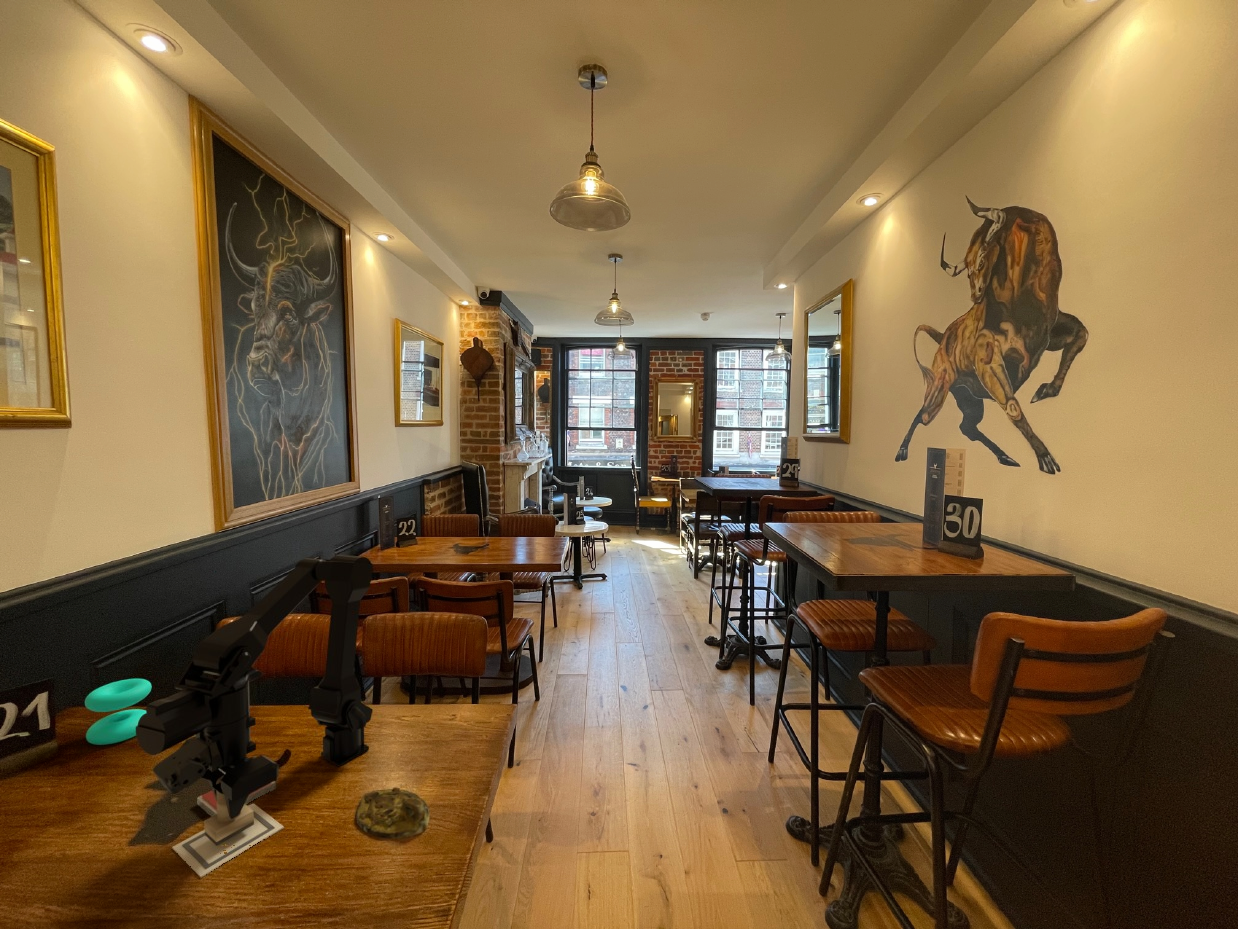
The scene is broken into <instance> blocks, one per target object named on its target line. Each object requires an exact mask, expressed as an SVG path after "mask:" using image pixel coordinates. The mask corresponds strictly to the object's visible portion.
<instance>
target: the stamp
mask: <svg viewBox="0 0 1238 929" xmlns="http://www.w3.org/2000/svg"><path fill="white" fill-rule="evenodd" d="M222 778H223V776H222V777H220V778H219V779H218V780H217V782H216V784H218V783H220V782H221V779H222ZM216 793H217V814H216V815H215V816H213V817H211V816H210V817H209V818H207V819H205V820H204V821H203V822H204V823H203V824H204V830H205V836H206V837H207V838H209V839H210V840H211V841H212V842H213V843H214V844H215V845H216V846H218V845H219V844H221V843H223V842H224V841H226V840H228V839H230V838H231V837H233V836H235V835H237V834H238V833H240V832H242V831H244V830H245V829H247V828H249V827H251V826H252V825H254V811H253V810H252V809H251V808H250V807H248V806H249V805H248V804H244V806H243V808H242V810H241V812H240V814H239V815H238V816H237V817H235V818H233V819H231V818H230V817H229V813H228V809H227V805H226V800H225V796H224V794H220V793H219V792H218V791H216Z"/></svg>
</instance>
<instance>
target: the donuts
mask: <svg viewBox="0 0 1238 929" xmlns="http://www.w3.org/2000/svg"><path fill="white" fill-rule="evenodd" d="M151 691H152V683H151V682H150V681H149V680H147V679H146V678H145V679H144V678H128V679H122V680H118V681H113V682H110V683H108V684H104V685H103V686H102V685H101V686H100V687H97V688H96V689H94V690H92V691H90V693H89V694H87V696H86V697H85V700H84V706H85V708H86V709H87V710H89V711H91V712H97V713H105V712H106V713H107V712H114V711H118V710H121V711H118V712H114V713H111V714H109V715H107V716H104V717H102V718H101V719H98V720H97V721H96V722H95V723H92V725H91V726H89V728H88V730H87V731H86V734H85V738H86V741H87V743H90V744H92V745H96V746H98V745H99V746H102V745H103V746H105V745H111V744H117V743H120V742H123V741H124V742H125V741H127V740H129V739H131V738H134V737H136V726H138V721H139V719H140V718H141V716H142V715H144V714H146V710H144V709H142V708H141V709H139V708H137V709H136V708H135V709H133V708H132V709H131V708H130V709H126V710H125V708H128V707H131V706H134V705H136V704H138V703H139V702H141V701H142V700H144V699H145V698H146V697H147V696H148V695H149V694H150V693H151ZM122 709H124V710H122Z"/></svg>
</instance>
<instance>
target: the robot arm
mask: <svg viewBox="0 0 1238 929" xmlns="http://www.w3.org/2000/svg"><path fill="white" fill-rule="evenodd" d="M373 573H374V565H373V562H372V561H371V560H370V559H369V558H368V557H366V556H359V555H358V556H356V555H347V554H346V555H345V554H335V555H334V556H332V557H331V558H330V559H328V558H308V557H306V558H303V559H301V560H299V561H298V562H297V563H296V565H295V566H294V568H293V569H292V570H291V571H290V572H289V573H288V574H286V576H285V577H284V578H283V579H282V580H281V581H279V582H278V584H277V585H275V586H274V587H273V588H272V589H271V590H270V591H269V592H267V593H266V595H265V596H263V597H262V598H261V599H260V600H259V601H258V602H257V603H256V604H255V605H254V606H253V607H251V609H250V610H248V611H247V613H245V614H243V615H241V617H240V618H237V619H235V620H232V621H231V622H229V623H227V624H224V625H222V626H220V627H219V628H217V629H216V630H215V631H213V632H212V633H210V634H209V635H207V636H206V637H205V638H203V639H202V640H201V641H200V642H199V643H198V644H197V645H196V647H195V648H194V651H193V652H194V654H193V655H192V658H191V660H189V663H188V665H187V666H186V668H185V670H184V671H183V673H182V674H181V675H180V677H179V679H178V680H177V682H176V683H175V685H174V688H175V689H176V690H180V691H178V692H177V693H174V694H172V695H170V696H167V697H165V698H160V699H157V700H155V701H152V702H150V703H148V704H146V706H145V709H146V714H144V715H142V716H141V718H140V719H139V721H138V726H136V736H135V737H136V740H137V743H138V744H139V746H140V748H141V749H142V751H144V752H145V753H146V754H148V755H149V756H156V755H158V754H161V753H162V752H164V751H167V750H168V749H171V748H173V747H174V746H177V745H179V744H181V743H182V745H181V746H180V747H179V748H178V749H176V750H175V751H174V752H172V753H171V754H170V755H169V756H166V757H165V758H164V759H163V760H161V761H159V762H158V763H157V764H156V765H154V766H153V768H152V772H153V773H154V774H155V776H156V777H157V779H158V781H159V782H160V783H161V786H162V787H163V788H165V789H166V790H167V791H168V792H169V793H170V794H171V795H175V794H177V793H180V792H181V791H183V790H184V789H188V788H189V787H190V786H192V785H193V784H194V783H196V782H197V781H198V780H200V779H201V778H202V779H203V780H204V779H205V780H207V781H208V784H209V786H210V788H211V791H213V794H214V796H215V799H216V801H217V793H216V791H218V792H219V793H220V794H224V796H225V800H226V805H227V809H228V813H229V817H230V818H231V819H233V818H235V817H237V816H238V815H239V814H240V812H241V810H242V808H243V806H244V804H245V802H246V800H247V798H248V796H249V794H250V793H252V792H254V791H256V790H258V789H260V788H262V787H264V786H266V785H267V784H269V783H271V782H273V781H275V782H276V780H278V778H279V776H280V774H279V773H280V772H279V770H280V768H279V766H280V765H279V764H278V763H277V762H275V761H273V760H272V759H271V758H269V757H268V756H265V755H263V754H260V755H258V756H250V757H249V756H248V754H250V753H252V752H254V751H256V750H257V743H255V742H254V741H253V740H251V727H254V726H256V723H257V722H256V717H254V716H252V715H250V714H251V710H250V706H251V705H250V683H251V682H252V681H254V680H256V679H259V678H260V677H263V675H264V673H263V671H260V670H259V669H256V668H254V667H253V666H254V665H255V662H256V661H258V659H259V657H260V656H261V655H262V654H263V652H264V651H265V649H266V645H267V642H268V639H269V636H270V635H271V634H272V632H273V631H274V630H275V629H276V628H277V627H278V626H279V625H280V624H281V623H282V622H283V621H284V620H285V619H286V618H287V617H288V616H289V615H290V614H291V613H292V612H293V611H294V610H295V609H296V607H297V606H299V605H300V604H301V602H303V601H304V600H305V598H307V597H308V595H309V594H311V593H312V591H313V590H315V588H316V587H317V586H318V585H319V584H321V583H322V582H324V587H325V590H326V593H327V594H328V596H329V599H330V601H331V607H330V609H331V610H330V620H329V630H328V631H329V632H328V639H327V640H328V642H327V649H326V650H327V651H326V659H325V660H326V661H325V662H326V663H325V672H324V677H323V678H322V679H321V680H320V682H319V684H318V685H317V686H314V687H312V688H311V690H310V692H309V693H310V701H309V705H308V710H310V715H311V717H312V718H314V719H315V720H316V722H317V724H318V725H319V726H324V736H323V737H322V752H320V756H321V757H322V758H323V759H325V760H327V761H328V762H330V763H333V765H335V766H337V767H340V766H342V765H344V764H346V763H348V762H349V761H352V759H354V758H355V759H356V757H359V756H361V755H362V754H364V753H365V752H367V751H368V750H370V746H369V745H368V744H365V727H366V726H367V723H369V722H371V720H372V714H373V712H374V711H373V708H371V707H369V706H368V705H366V704H364V703H363V702H362V692H361V690H362V688H361V686H360V685H359V682H358V680H357V678H356V676H355V662H356V661H355V658H356V648H357V639H358V638H357V637H358V630H359V629H358V628H359V618H360V606H361V600H362V599H363V597H364V596H365V594H366V593H367V592H368V590H369V588H370V586H371V583H372V578H373ZM203 674H209V675H215V676H219V677H218V678H217V679H211V678H207V677H201V676H202V675H203ZM183 742H184V743H183ZM222 776H223V778H222V779H221V782H220V783H218V784H216V782H217V780H218V779H219V778H220V777H222Z"/></svg>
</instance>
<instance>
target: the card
mask: <svg viewBox="0 0 1238 929" xmlns="http://www.w3.org/2000/svg"><path fill="white" fill-rule="evenodd" d="M247 806H248V807H250V808H251V809H252V810H253V811H254V825H252V826H251V827H249V828H247V829H245V830H244V831H242V832H240V833H238V834H237V835H235V836H233V837H231V838H230V839H228V840H226V841H224V842H223V843H221V844H219V845H218V846H216V845H215V844H214V843H213V842H212V841H211V840H210V839H209V838H207V837H206V836H205V829H203V830H201V831H200V832H197V833H196V834H193V835H192V836H190V837H188V838H186V839H185V840H183V841H180V842H179V843H176V844H175V845H174V846H172V847H171V848H172V850H173V851H174V852H175V853H176V854H177V853H178V854H177V855H178V856H179V857H180V858H181V859H182V860H183V861H184V862H185V861H186V862H185V863H186V864H187V865H188V866H189V867H190V866H191V867H190V868H191V869H192V870H193V871H194V872H195V873H196V875H197V876H198V877H199V878H200V879H202V878H203V877H205V876H207V875H208V874H210V873H212V872H213V871H215V870H217V869H218V868H220V867H222V866H223V865H224V864H223V863H225V862H227V861H228V862H230V861H232V860H233V859H235V858H237V857H239V856H240V855H241V853H242V852H243V853H244V851H245V850H247V849H248V850H250V849H251V848H250V847H252V846H253V845H255V844H256V845H258V844H259V843H258V842H260V841H261V842H264V840H263V839H265V840H266V839H269V838H270V837H271V836H273V835H274V834H276V833H278V832H280V831H282V830H283V829H284V828H285V827H284V826H283V824H281V823H280V822H278V821H277V820H276V819H274V818H273V817H272V816H271V815H270V814H268V813H267V812H266V811H264V810H263V809H261V807H259V806H257V805H256V803H251V804H249V805H247ZM269 836H270V837H269ZM261 842H260V843H261ZM257 843H258V844H257ZM225 844H226V845H228V846H225ZM212 845H213V846H212ZM221 845H224V846H221ZM233 845H235V846H233ZM249 845H251V846H249ZM256 845H255V846H256ZM225 847H227V848H225ZM231 847H232V848H231ZM253 847H254V846H253ZM253 847H252V848H253ZM249 848H250V849H249ZM223 850H226V851H223ZM248 850H247V851H248ZM224 852H227V854H224ZM245 852H246V851H245ZM220 853H221V854H220ZM243 853H242V854H243ZM239 854H240V855H239ZM236 856H237V857H236ZM234 857H235V858H234ZM232 858H233V859H232ZM231 859H232V860H231ZM229 860H230V861H229ZM228 862H227V863H228ZM222 864H223V865H222ZM225 864H226V863H225ZM221 865H222V866H221ZM219 866H220V867H219ZM216 868H217V869H216ZM214 869H215V870H214ZM211 871H212V872H211ZM206 874H207V875H206Z"/></svg>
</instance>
